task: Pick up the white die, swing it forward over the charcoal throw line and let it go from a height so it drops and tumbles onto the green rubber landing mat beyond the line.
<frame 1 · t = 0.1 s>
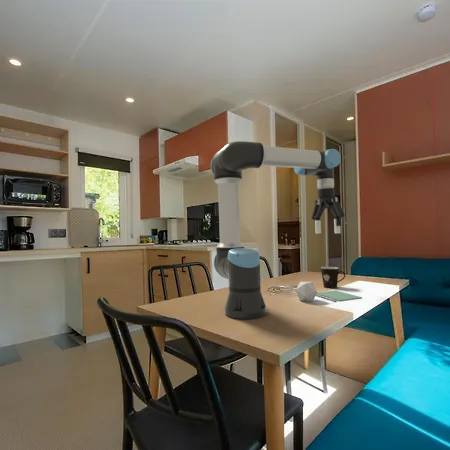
hand: (327, 233, 134), 28 cm above the table, tool pointing down, fingers open, 13 cm apart
coffee mug: (332, 288, 144), on the table
die: (306, 300, 120), on the table
throw line: (322, 297, 124), on the table
landing mat: (337, 295, 127), on the table
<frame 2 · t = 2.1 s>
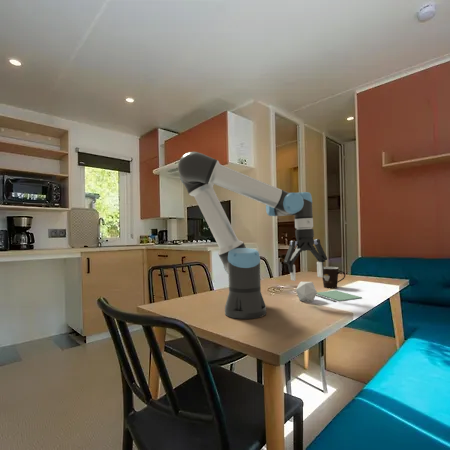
hand: (306, 278, 120), 9 cm above the table, tool pointing down, fingers open, 13 cm apart
nothing on the table moved.
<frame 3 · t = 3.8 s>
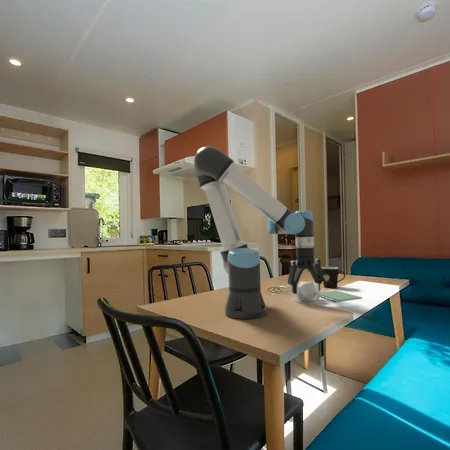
hand: (306, 299, 120), 0 cm above the table, tool pointing down, fingers open, 9 cm apart
die: (306, 300, 120), on the table, touching gripper
everything else where it was.
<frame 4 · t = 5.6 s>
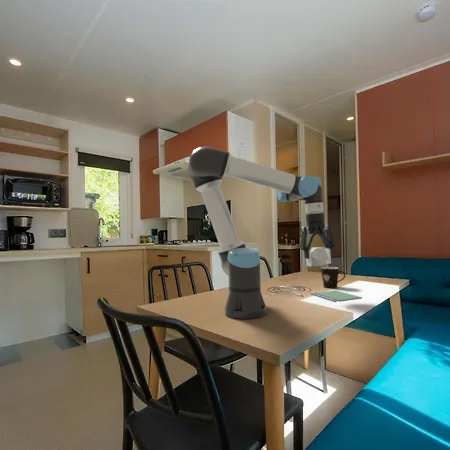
hand: (319, 264, 123), 15 cm above the table, tool pointing down, fingers closed on die, 9 cm apart
die: (318, 265, 123), point 14 cm above the table, touching gripper
everything else where it was.
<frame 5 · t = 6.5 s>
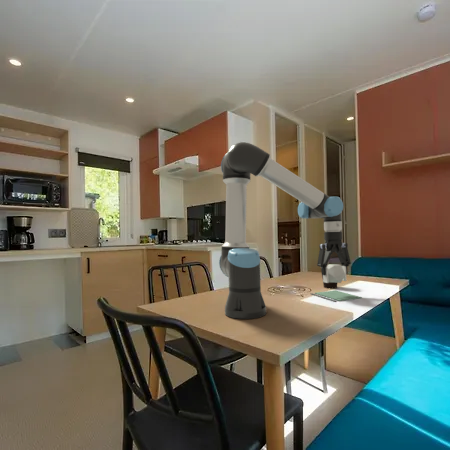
hand: (334, 281, 127), 6 cm above the table, tool pointing down, fingers closed on die, 9 cm apart
die: (334, 282, 127), point 6 cm above the table, touching gripper
everything else where it was.
when the fingers open (6 cm above the table, at t = 6.6 s): die drops 6 cm, resting on landing mat.
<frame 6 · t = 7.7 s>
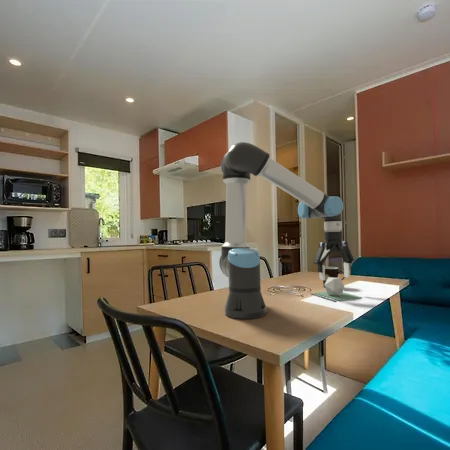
hand: (334, 278, 127), 8 cm above the table, tool pointing down, fingers open, 13 cm apart
die: (334, 295, 126), resting on landing mat
everything else where it was.
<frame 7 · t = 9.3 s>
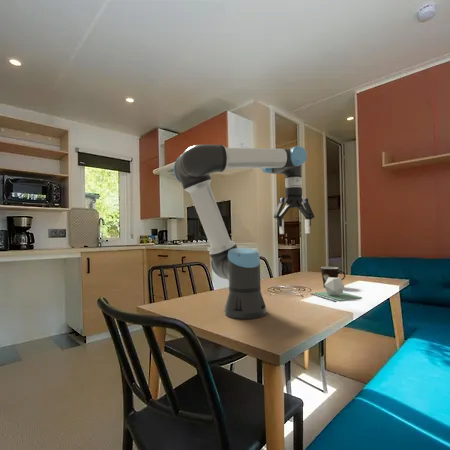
hand: (294, 233, 130), 28 cm above the table, tool pointing down, fingers open, 13 cm apart
nothing on the table moved.
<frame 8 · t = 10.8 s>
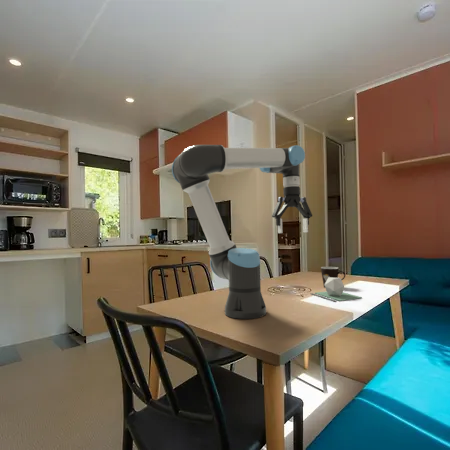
hand: (293, 232, 131), 29 cm above the table, tool pointing down, fingers open, 13 cm apart
nothing on the table moved.
at the end: die inside the target area (8.0 cm from its centre), resting on landing mat; the gripper is holding nothing; die moved 15.5 cm from its start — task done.
